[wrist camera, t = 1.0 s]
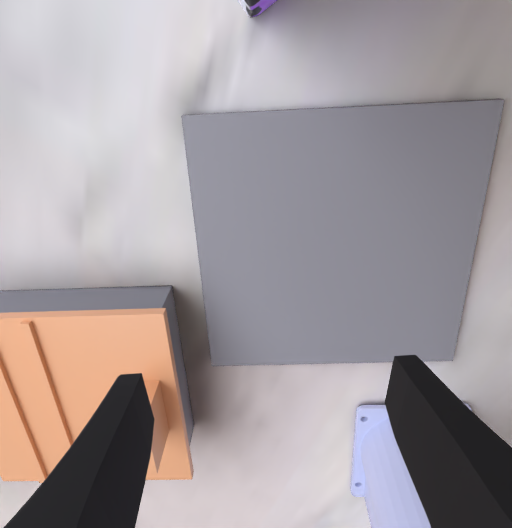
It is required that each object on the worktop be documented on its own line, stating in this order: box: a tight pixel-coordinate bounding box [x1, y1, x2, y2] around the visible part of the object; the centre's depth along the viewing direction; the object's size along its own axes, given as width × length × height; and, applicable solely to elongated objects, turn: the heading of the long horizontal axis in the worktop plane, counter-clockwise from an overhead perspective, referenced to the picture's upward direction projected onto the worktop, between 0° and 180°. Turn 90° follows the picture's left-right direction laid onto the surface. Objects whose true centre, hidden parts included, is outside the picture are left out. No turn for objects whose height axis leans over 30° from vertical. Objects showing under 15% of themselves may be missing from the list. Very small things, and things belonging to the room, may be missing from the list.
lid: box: [0, 308, 194, 483], centre depth 23 cm, size 13×13×4 cm
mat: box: [181, 99, 504, 366], centre depth 24 cm, size 16×16×1 cm
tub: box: [0, 286, 194, 447], centre depth 27 cm, size 12×12×4 cm
